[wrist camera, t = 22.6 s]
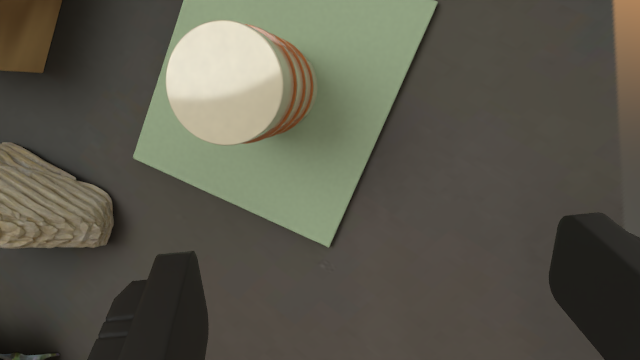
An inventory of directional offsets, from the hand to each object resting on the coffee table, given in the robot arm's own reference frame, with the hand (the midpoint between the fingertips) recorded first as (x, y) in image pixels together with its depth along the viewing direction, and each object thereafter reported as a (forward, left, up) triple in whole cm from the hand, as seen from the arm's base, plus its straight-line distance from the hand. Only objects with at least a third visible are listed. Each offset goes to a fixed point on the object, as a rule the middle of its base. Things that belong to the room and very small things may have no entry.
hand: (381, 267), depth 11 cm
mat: (-1, -9, -23) cm, 25 cm away
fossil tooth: (+14, -24, -23) cm, 36 cm away
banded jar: (-1, -9, -22) cm, 24 cm away
